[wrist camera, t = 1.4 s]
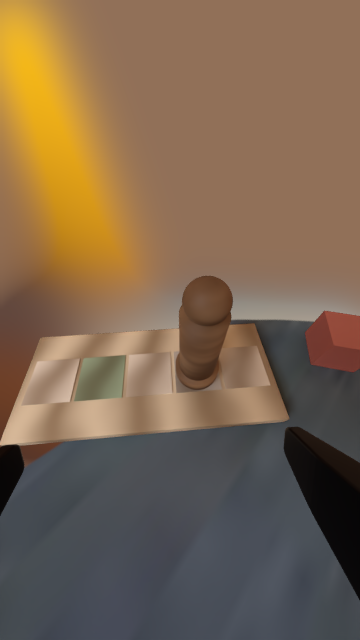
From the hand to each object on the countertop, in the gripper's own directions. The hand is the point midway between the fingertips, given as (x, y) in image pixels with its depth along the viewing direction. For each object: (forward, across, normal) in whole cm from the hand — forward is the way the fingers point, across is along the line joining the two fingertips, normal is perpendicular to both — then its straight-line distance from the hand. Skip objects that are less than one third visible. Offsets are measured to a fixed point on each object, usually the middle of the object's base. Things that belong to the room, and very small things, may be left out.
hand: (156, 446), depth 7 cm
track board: (+15, +2, +5) cm, 16 cm away
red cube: (+17, -19, +4) cm, 26 cm away
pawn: (+14, -3, +4) cm, 15 cm away
